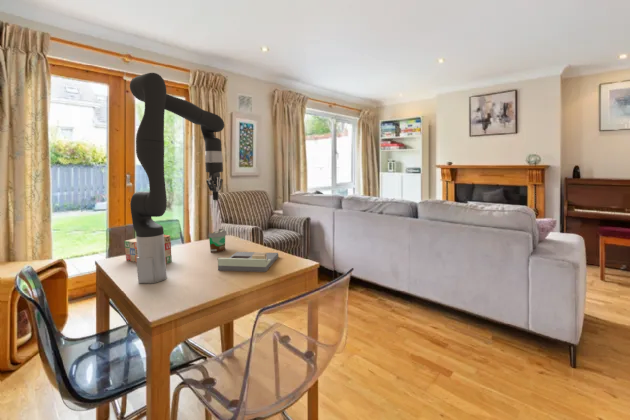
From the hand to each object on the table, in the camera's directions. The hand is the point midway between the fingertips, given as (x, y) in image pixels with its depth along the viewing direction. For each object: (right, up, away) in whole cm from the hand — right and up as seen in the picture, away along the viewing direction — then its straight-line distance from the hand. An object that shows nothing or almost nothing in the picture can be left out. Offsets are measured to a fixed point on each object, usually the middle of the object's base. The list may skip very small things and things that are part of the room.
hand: (215, 199), depth 151 cm
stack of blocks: (-30, -28, -2) cm, 41 cm away
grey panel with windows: (+17, -28, -6) cm, 33 cm away
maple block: (+22, -27, -14) cm, 38 cm away
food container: (-2, -25, +16) cm, 30 cm away
